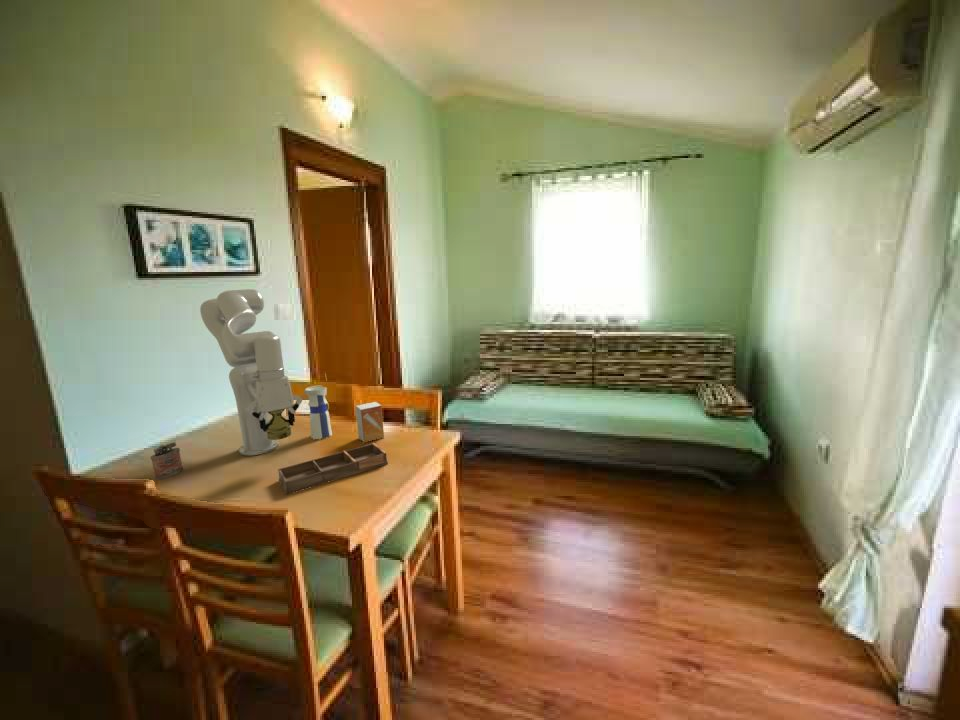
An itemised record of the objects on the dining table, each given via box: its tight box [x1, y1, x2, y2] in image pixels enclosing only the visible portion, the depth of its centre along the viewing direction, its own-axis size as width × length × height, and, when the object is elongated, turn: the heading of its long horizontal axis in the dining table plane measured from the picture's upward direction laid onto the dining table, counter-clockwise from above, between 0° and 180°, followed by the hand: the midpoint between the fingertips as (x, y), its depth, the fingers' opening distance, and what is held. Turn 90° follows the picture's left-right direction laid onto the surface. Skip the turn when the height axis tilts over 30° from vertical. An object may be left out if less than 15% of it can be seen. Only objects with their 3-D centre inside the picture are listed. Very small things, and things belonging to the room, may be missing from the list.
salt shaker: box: [266, 409, 293, 441], centre depth 139 cm, size 7×7×10 cm
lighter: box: [150, 442, 184, 480], centre depth 140 cm, size 8×3×10 cm, turn 148°
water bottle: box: [304, 373, 333, 440], centre depth 167 cm, size 8×8×25 cm
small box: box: [355, 401, 385, 444], centre depth 163 cm, size 8×6×13 cm
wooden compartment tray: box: [277, 442, 389, 495], centre depth 137 cm, size 11×31×4 cm, turn 125°
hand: (278, 427), depth 140 cm, fingers closed on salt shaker, 7 cm apart
